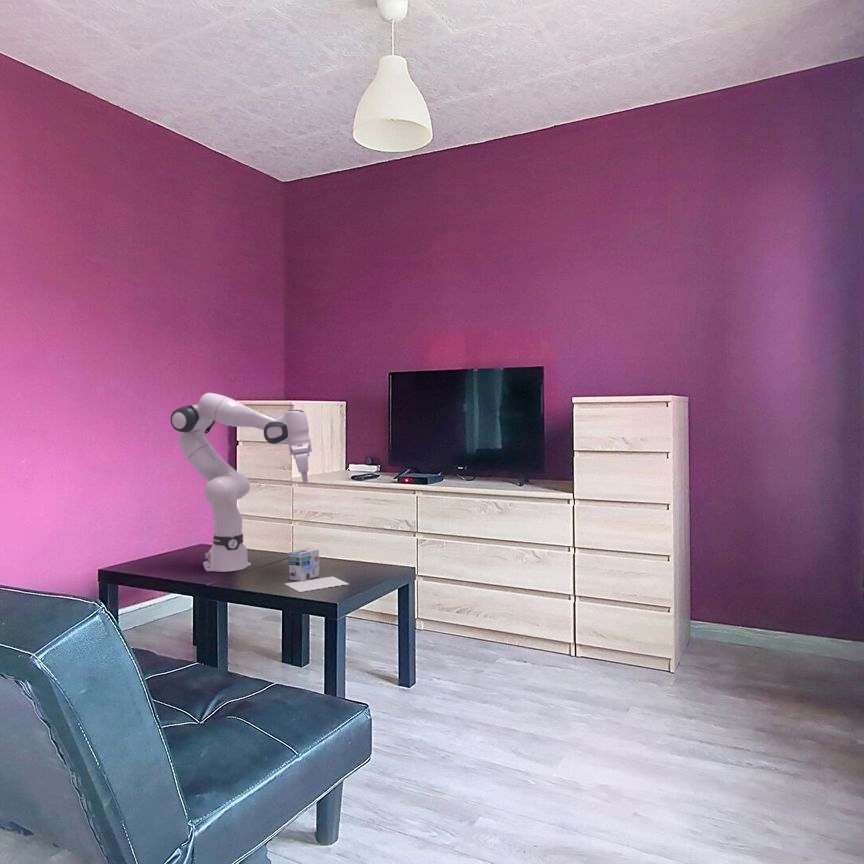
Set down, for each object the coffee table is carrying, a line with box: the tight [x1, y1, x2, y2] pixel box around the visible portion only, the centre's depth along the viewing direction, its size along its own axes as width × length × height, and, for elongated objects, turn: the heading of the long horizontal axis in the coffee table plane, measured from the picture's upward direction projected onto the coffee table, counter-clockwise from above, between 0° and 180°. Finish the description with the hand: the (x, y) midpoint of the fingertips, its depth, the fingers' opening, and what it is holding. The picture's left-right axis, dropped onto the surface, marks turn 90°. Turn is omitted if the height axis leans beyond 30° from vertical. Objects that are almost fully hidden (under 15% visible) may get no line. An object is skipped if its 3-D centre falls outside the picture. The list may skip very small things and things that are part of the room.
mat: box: [284, 576, 350, 594], centre depth 250 cm, size 14×20×1 cm
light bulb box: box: [288, 547, 320, 582], centre depth 260 cm, size 11×7×11 cm, turn 149°
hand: (305, 483), depth 264 cm, fingers open, 8 cm apart
